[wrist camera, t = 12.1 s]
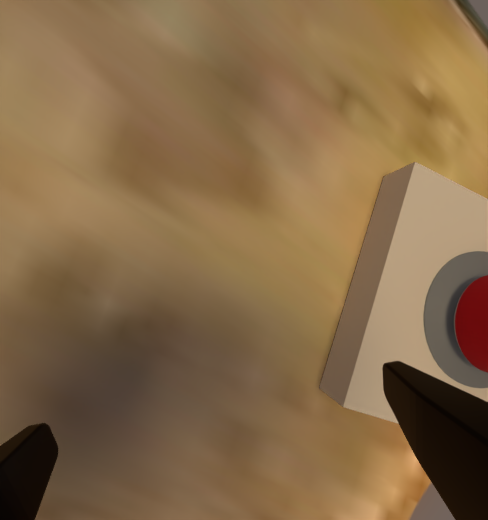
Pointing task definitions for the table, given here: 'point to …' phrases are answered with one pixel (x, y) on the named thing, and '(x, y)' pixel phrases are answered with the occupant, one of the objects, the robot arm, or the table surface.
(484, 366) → the beverage can
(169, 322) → the table surface
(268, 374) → the table surface
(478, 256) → the base plate
